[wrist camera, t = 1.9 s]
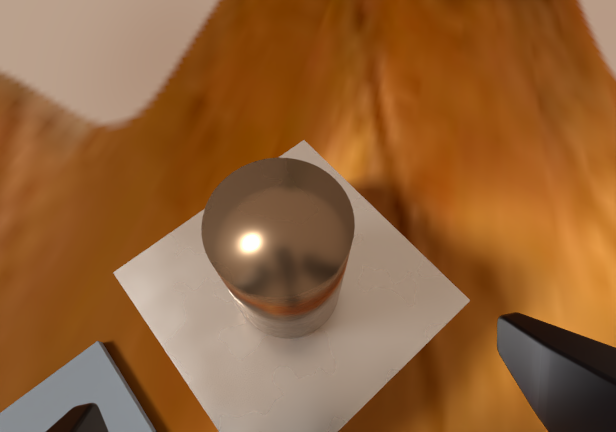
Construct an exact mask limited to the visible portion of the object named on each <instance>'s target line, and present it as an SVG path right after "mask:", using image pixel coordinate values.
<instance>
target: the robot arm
mask: <svg viewBox="0 0 616 432" xmlns="http://www.w3.org/2000/svg"><path fill="white" fill-rule="evenodd" d="M497 348H498V352H499V354H500V356H501V358H502V360H503V361H504V363H505V365H506V366H507V368H508V369H509V371H510V373H511V374H512V376H513V378H514V379H515V381H516V383H517V384H518V386H519V387H520V389H521V391H522V392H523V394H524V396H525V397H526V399H527V400H528V402H529V404H530V405H531V407H532V408H533V410H534V412H535V413H536V415H537V416H538V418H539V419H540V420H541V422H542V423H543V424H544V426H545V427H546V429H547V430H548V431H549V432H616V348H615V347H612V346H609V345H607V344H604V343H601V342H598V341H595V340H593V339H590V338H587V337H584V336H582V335H579V334H576V333H573V332H570V331H568V330H565V329H562V328H559V327H557V326H554V325H551V324H548V323H545V322H543V321H540V320H537V319H534V318H532V317H529V316H526V315H523V314H520V313H516V312H515V313H510V314H505V315H501V316H500V317H499V318H498V322H497ZM46 432H108V429H107V426H106V424H105V421H104V419H103V416H102V414H101V411H100V409H99V407H98V405H97V404H96V403H87V404H82V405H78V406H75V407H73V408H72V409H70V410H69V411H68V412H67V413H66V414H65V415H64V416H63V417H61V418H60V419H59V420H58V421H57V422H56V423H55V424H54V425H52V426H51V427H50V428H49V429H48V430H47V431H46Z"/></svg>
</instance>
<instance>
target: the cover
mask: <svg viewBox="0 0 616 432" xmlns="http://www.w3.org/2000/svg"><path fill="white" fill-rule="evenodd" d="M113 273H114V275H115V276H116V278H117V279H118V281H119V282H120V284H121V285H122V287H123V288H124V290H125V291H126V293H127V294H128V296H129V297H130V299H131V300H132V302H133V303H134V305H135V306H136V308H137V309H138V311H139V312H140V314H141V315H142V317H143V318H144V320H145V321H146V323H147V324H148V326H149V327H150V329H151V330H152V332H153V333H154V335H155V336H156V338H157V339H158V341H159V342H160V344H161V345H162V347H163V348H164V350H165V351H166V353H167V354H168V356H169V357H170V359H171V360H172V362H173V363H174V365H175V366H176V368H177V369H178V371H179V372H180V374H181V375H182V377H183V378H184V380H185V381H186V383H187V384H188V386H189V387H190V389H191V390H192V392H193V393H194V395H195V396H196V398H197V399H198V401H199V402H200V404H201V405H202V407H203V408H204V410H205V411H206V413H207V414H208V416H209V417H210V419H211V420H212V422H213V423H214V425H215V426H216V428H217V429H218V431H219V432H338V431H339V430H340V429H341V428H342V427H343V426H344V425H345V424H346V423H347V422H348V421H349V420H350V419H351V418H352V417H353V416H354V415H355V414H356V413H357V412H358V411H359V410H360V409H361V408H362V407H363V406H364V405H365V404H366V403H367V402H368V401H369V400H370V399H371V398H372V397H373V396H374V395H375V394H376V393H377V392H378V391H379V390H380V389H381V388H382V387H383V386H384V385H385V384H386V383H387V382H388V381H389V380H390V379H391V378H393V377H394V376H395V375H396V374H397V373H398V372H399V371H400V370H401V369H402V368H403V367H404V366H405V365H406V364H407V363H408V362H409V361H410V360H411V359H412V358H413V357H414V356H415V355H416V354H417V353H418V352H419V351H420V350H421V349H422V348H423V347H424V346H425V345H426V344H427V343H428V342H429V341H430V340H431V339H432V338H433V337H434V336H435V335H436V334H437V333H438V332H439V331H440V330H441V329H442V328H443V327H444V326H445V325H446V324H447V323H448V322H449V321H450V320H451V319H452V318H453V317H454V316H455V315H456V314H457V313H458V312H459V311H460V310H461V309H462V308H463V307H464V306H465V305H466V304H467V303H468V302H469V301H470V300H469V299H468V298H467V297H466V296H465V295H464V294H463V293H462V292H461V291H460V290H459V289H458V288H457V287H456V286H455V285H454V284H453V283H452V282H451V281H450V280H449V279H448V278H447V277H446V276H445V275H444V274H442V273H441V272H440V271H439V270H438V269H437V268H436V267H435V266H434V265H433V264H432V263H431V262H430V261H429V260H428V259H427V258H426V257H425V256H424V255H423V254H422V253H421V252H420V251H419V250H418V249H417V248H416V247H414V246H413V245H412V244H411V243H410V242H409V241H408V240H407V239H406V238H405V237H404V236H403V235H402V234H401V233H400V232H399V231H398V230H397V229H396V228H395V227H394V226H393V225H392V224H391V223H390V222H389V221H388V220H386V219H385V218H384V217H383V216H382V215H381V214H380V213H379V212H378V211H377V210H376V209H375V208H374V207H373V206H372V205H371V204H370V203H369V202H368V201H367V200H366V199H365V198H364V197H363V196H362V195H361V194H360V193H358V192H357V191H356V190H355V189H354V188H353V187H352V186H351V185H350V184H349V183H348V182H347V181H346V180H345V179H344V178H343V177H342V176H341V175H340V174H339V173H338V172H337V171H336V170H335V169H334V168H333V167H331V166H330V165H329V164H328V163H327V162H326V161H325V160H324V159H323V158H322V157H321V156H320V155H319V154H318V153H317V152H316V151H315V150H314V149H313V148H312V147H311V146H310V145H309V144H308V143H307V142H306V141H305V140H303V141H302V142H300V143H299V144H297V145H296V146H295V147H293V148H292V149H290V150H289V151H287V152H286V153H285V154H283V155H282V156H280V157H279V158H269V159H264V160H259V161H256V162H253V163H250V164H247V165H245V166H243V167H241V168H239V169H238V170H236V171H234V172H233V173H232V174H230V175H229V176H228V177H226V178H225V179H224V180H223V181H222V182H221V183H220V184H219V185H218V187H217V188H216V189H215V190H214V192H213V193H212V195H211V197H210V198H209V200H208V202H207V205H206V207H205V209H204V210H203V211H201V212H200V213H198V214H197V215H195V216H194V217H192V218H191V219H190V220H188V221H187V222H185V223H184V224H182V225H181V226H180V227H178V228H177V229H175V230H174V231H172V232H171V233H169V234H168V235H167V236H165V237H164V238H162V239H161V240H159V241H158V242H157V243H155V244H154V245H152V246H151V247H149V248H148V249H146V250H145V251H144V252H142V253H141V254H139V255H138V256H136V257H135V258H134V259H132V260H131V261H129V262H128V263H126V264H125V265H123V266H122V267H121V268H119V269H118V270H116V271H115V272H113Z"/></svg>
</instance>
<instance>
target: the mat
mask: <svg viewBox="0 0 616 432" xmlns="http://www.w3.org/2000/svg"><path fill="white" fill-rule="evenodd" d="M87 403H96V404H97V405H98V407H99V409H100V411H101V414H102V416H103V419H104V421H105V424H106V426H107V429H108V432H156V430H155V428H154V427H153V425H152V423H151V422H150V420H149V418H148V417H147V415H146V413H145V412H144V410H143V409H142V407H141V405H140V404H139V402H138V400H137V399H136V397H135V395H134V394H133V392H132V390H131V389H130V387H129V386H128V384H127V382H126V381H125V379H124V377H123V376H122V374H121V372H120V371H119V369H118V367H117V366H116V364H115V362H114V361H113V359H112V358H111V356H110V354H109V353H108V351H107V349H106V348H105V346H104V344H103V343H102V342H99V341H97V342H96V343H94V344H93V345H92V346H90V347H89V348H88V349H86V350H85V351H83V352H82V353H81V354H79V355H78V356H77V357H75V358H74V359H73V360H71V361H70V362H69V363H67V364H66V365H65V366H63V367H62V368H60V369H59V370H58V371H56V372H55V373H54V374H52V375H51V376H50V377H48V378H47V379H46V380H44V381H43V382H42V383H40V384H39V385H37V386H36V387H35V388H33V389H32V390H31V391H29V392H28V393H27V394H25V395H24V396H23V397H21V398H20V399H19V400H17V401H16V402H14V403H13V404H12V405H10V406H9V407H8V408H6V409H5V410H4V411H2V412H1V413H0V432H46V431H47V430H48V429H49V428H50V427H51V426H52V425H54V424H55V423H56V422H57V421H58V420H59V419H60V418H61V417H63V416H64V415H65V414H66V413H67V412H68V411H69V410H70V409H72V408H73V407H75V406H78V405H82V404H87Z"/></svg>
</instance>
